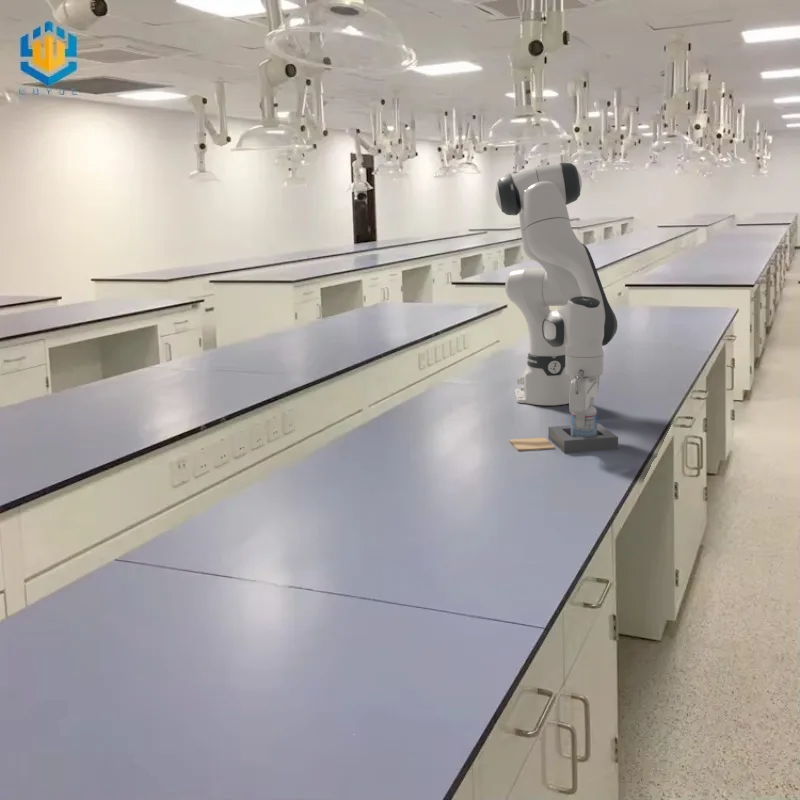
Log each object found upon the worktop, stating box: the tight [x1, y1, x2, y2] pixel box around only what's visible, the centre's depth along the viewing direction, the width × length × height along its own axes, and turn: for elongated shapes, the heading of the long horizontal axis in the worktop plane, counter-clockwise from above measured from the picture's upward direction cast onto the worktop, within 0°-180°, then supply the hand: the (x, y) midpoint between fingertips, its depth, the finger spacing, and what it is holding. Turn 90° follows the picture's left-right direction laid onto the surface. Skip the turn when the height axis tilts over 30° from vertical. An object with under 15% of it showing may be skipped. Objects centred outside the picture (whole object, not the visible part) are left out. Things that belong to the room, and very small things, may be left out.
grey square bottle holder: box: [547, 423, 619, 454], centre depth 207 cm, size 13×13×3 cm
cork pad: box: [508, 436, 556, 452], centre depth 208 cm, size 9×9×1 cm
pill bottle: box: [570, 397, 598, 437], centre depth 206 cm, size 6×6×11 cm
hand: (583, 422), depth 206 cm, fingers closed on pill bottle, 6 cm apart
